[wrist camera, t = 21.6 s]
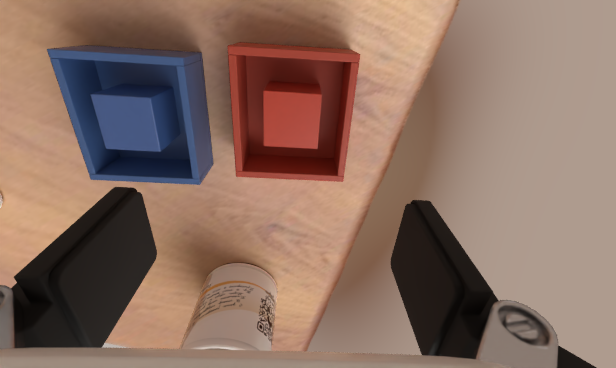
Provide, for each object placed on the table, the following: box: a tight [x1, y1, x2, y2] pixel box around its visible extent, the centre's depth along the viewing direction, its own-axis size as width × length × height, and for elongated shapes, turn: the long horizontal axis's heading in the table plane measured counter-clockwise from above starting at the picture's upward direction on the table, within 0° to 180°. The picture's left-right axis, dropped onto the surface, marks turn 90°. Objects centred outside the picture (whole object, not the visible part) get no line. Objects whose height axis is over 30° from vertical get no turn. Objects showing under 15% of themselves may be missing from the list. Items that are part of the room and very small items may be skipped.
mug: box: [179, 263, 278, 351], centre depth 35 cm, size 10×12×11 cm
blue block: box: [91, 84, 180, 152], centre depth 25 cm, size 4×4×4 cm
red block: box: [263, 81, 322, 149], centre depth 25 cm, size 4×4×4 cm
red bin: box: [228, 42, 360, 182], centre depth 26 cm, size 11×10×4 cm
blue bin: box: [47, 45, 213, 185], centre depth 26 cm, size 11×10×4 cm
